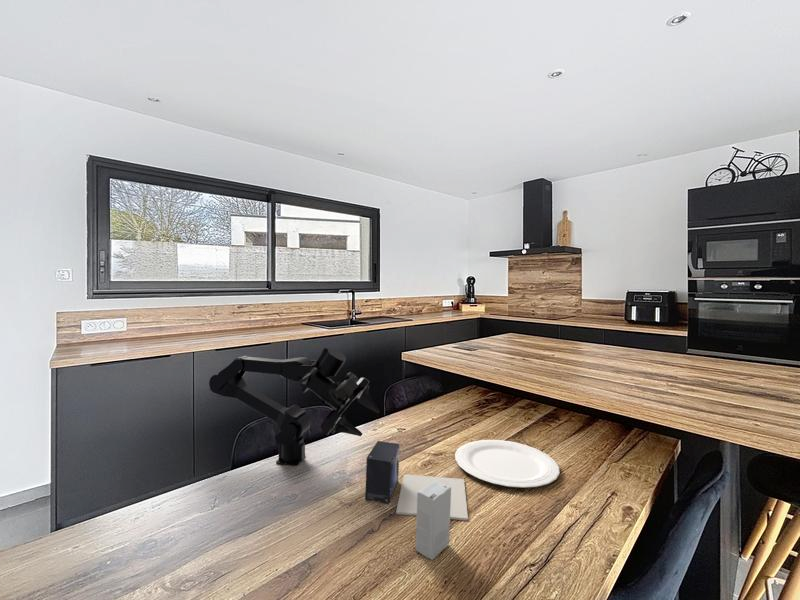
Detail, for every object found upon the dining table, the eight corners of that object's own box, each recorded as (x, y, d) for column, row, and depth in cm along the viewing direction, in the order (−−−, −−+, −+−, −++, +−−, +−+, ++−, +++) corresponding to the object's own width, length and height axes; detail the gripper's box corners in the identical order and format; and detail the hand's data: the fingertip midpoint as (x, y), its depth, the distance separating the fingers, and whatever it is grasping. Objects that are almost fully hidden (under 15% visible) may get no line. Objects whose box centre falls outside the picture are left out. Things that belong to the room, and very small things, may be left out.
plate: (574, 466, 111) (575, 460, 110) (532, 508, 89) (532, 500, 89) (486, 437, 130) (486, 432, 130) (434, 465, 109) (434, 459, 109)
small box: (390, 504, 89) (391, 461, 88) (364, 501, 90) (365, 457, 90) (399, 481, 99) (400, 442, 99) (375, 478, 101) (376, 440, 100)
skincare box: (432, 535, 78) (433, 478, 78) (450, 545, 75) (452, 486, 75) (413, 551, 74) (415, 490, 73) (432, 562, 71) (434, 499, 70)
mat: (396, 513, 85) (396, 511, 85) (403, 476, 102) (404, 474, 102) (467, 520, 83) (467, 518, 83) (463, 481, 100) (463, 479, 100)
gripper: (312, 394, 95) (361, 433, 92) (353, 353, 109) (396, 386, 107) (302, 417, 102) (348, 453, 99) (342, 375, 116) (383, 406, 114)
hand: (370, 423), depth 105 cm, fingers open, 9 cm apart
